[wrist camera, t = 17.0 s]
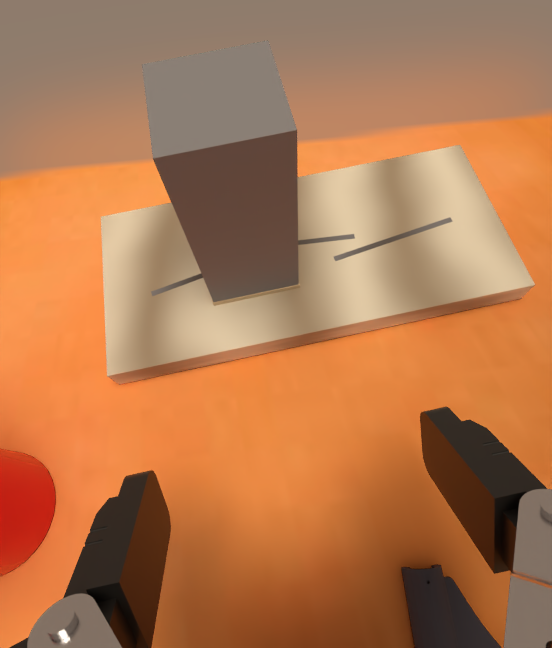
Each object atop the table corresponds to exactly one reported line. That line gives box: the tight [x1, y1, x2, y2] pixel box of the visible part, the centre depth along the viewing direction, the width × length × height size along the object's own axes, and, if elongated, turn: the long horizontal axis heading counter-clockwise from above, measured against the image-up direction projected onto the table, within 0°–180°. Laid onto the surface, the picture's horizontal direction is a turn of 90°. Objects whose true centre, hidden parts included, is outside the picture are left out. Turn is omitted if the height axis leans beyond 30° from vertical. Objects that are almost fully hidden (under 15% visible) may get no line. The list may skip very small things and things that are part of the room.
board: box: [101, 145, 535, 385], centre depth 24 cm, size 22×10×2 cm, turn 102°
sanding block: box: [142, 41, 300, 306], centre depth 18 cm, size 5×5×10 cm
